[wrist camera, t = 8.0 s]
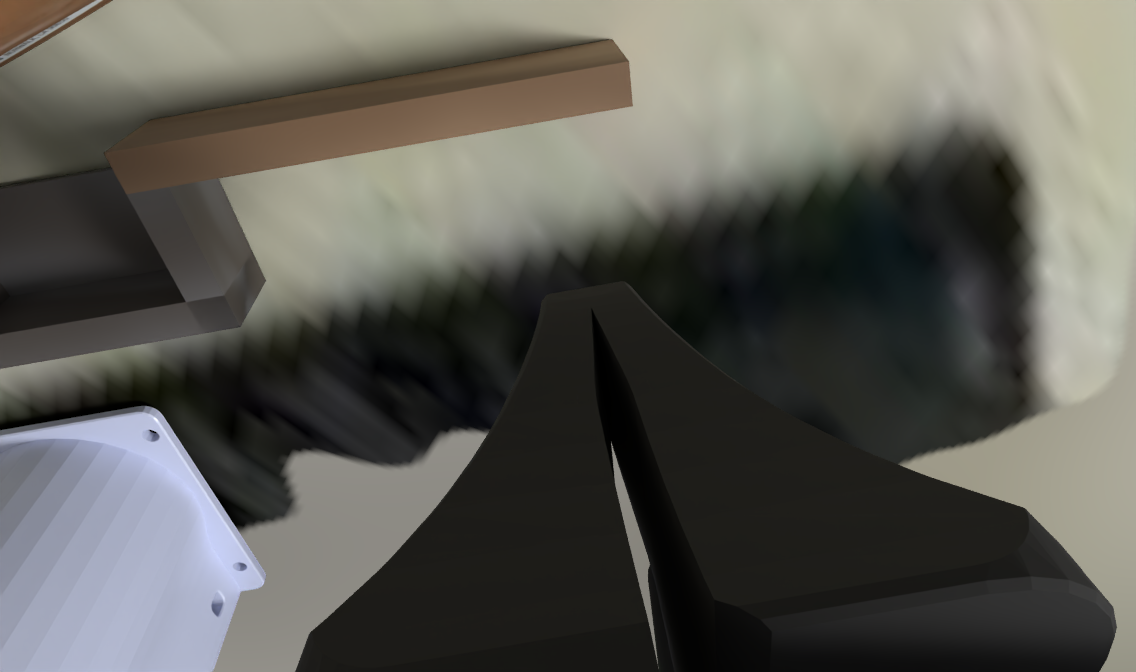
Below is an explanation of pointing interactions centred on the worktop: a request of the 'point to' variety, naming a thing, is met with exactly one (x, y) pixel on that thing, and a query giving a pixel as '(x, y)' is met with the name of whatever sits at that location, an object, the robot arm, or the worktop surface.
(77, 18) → the tin
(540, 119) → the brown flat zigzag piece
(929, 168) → the worktop surface
